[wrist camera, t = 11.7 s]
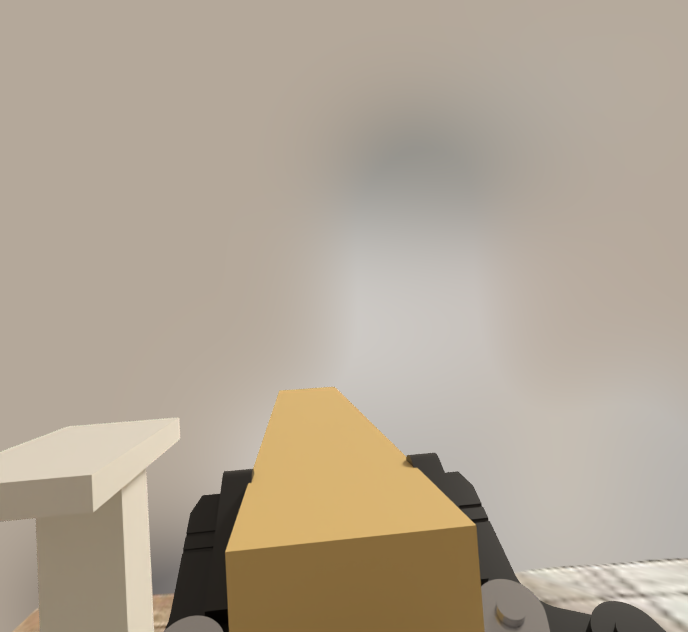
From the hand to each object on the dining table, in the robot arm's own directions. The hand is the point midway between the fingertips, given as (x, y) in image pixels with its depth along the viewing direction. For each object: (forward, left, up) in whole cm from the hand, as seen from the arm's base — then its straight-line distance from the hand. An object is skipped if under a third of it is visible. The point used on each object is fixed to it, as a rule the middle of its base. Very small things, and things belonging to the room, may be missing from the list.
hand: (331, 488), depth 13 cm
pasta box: (-6, -6, -3) cm, 10 cm away
